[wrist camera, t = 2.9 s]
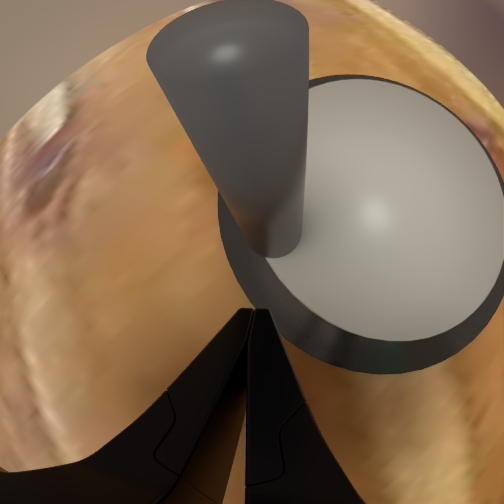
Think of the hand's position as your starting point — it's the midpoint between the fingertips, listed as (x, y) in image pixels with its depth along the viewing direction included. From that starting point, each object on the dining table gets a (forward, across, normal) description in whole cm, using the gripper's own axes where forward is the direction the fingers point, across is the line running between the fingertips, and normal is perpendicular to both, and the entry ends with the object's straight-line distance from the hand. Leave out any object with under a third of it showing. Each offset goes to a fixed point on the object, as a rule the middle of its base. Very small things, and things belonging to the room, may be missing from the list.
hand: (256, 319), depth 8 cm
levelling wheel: (+11, -7, 0) cm, 13 cm away
